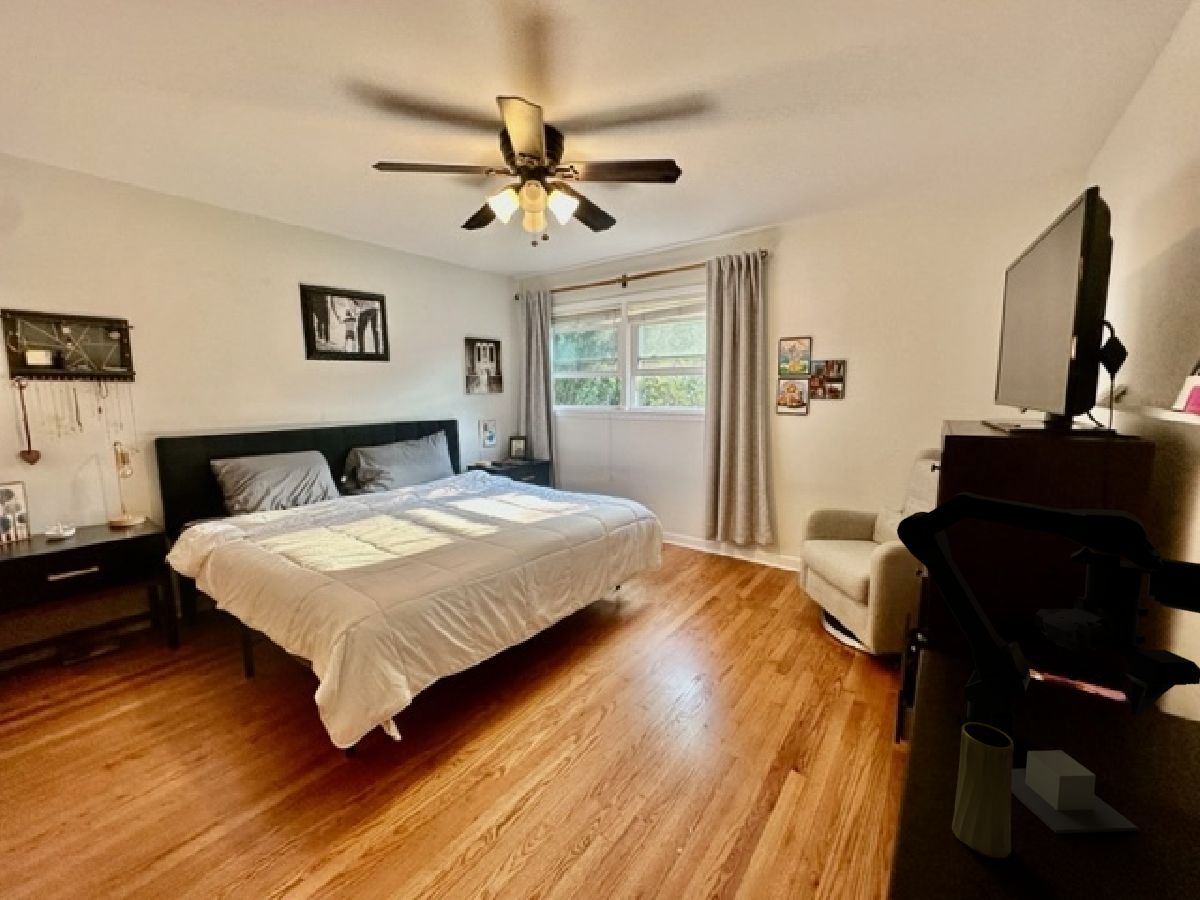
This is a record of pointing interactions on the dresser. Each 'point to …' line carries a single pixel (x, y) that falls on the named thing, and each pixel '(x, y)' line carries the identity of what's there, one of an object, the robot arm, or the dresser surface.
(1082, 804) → the cube
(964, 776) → the vase
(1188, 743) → the dresser surface
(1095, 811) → the mat
